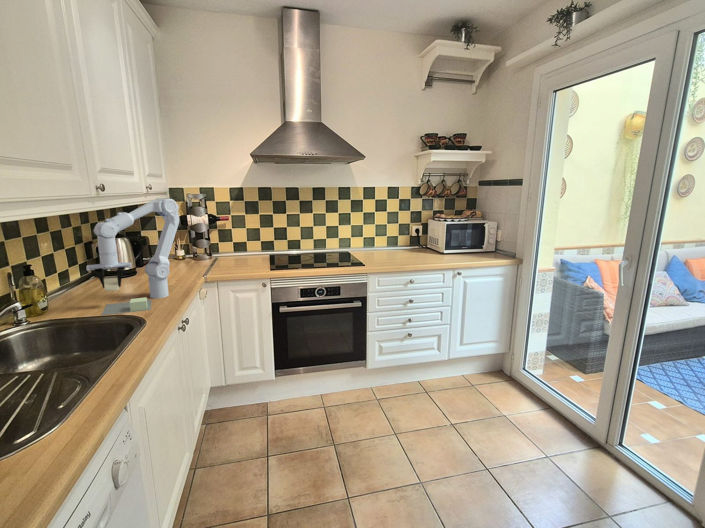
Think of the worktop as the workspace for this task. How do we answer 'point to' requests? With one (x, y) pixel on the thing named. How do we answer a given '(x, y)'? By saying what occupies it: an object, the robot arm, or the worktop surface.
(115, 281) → the cream block
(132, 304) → the base block
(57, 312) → the worktop surface
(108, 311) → the build plate
